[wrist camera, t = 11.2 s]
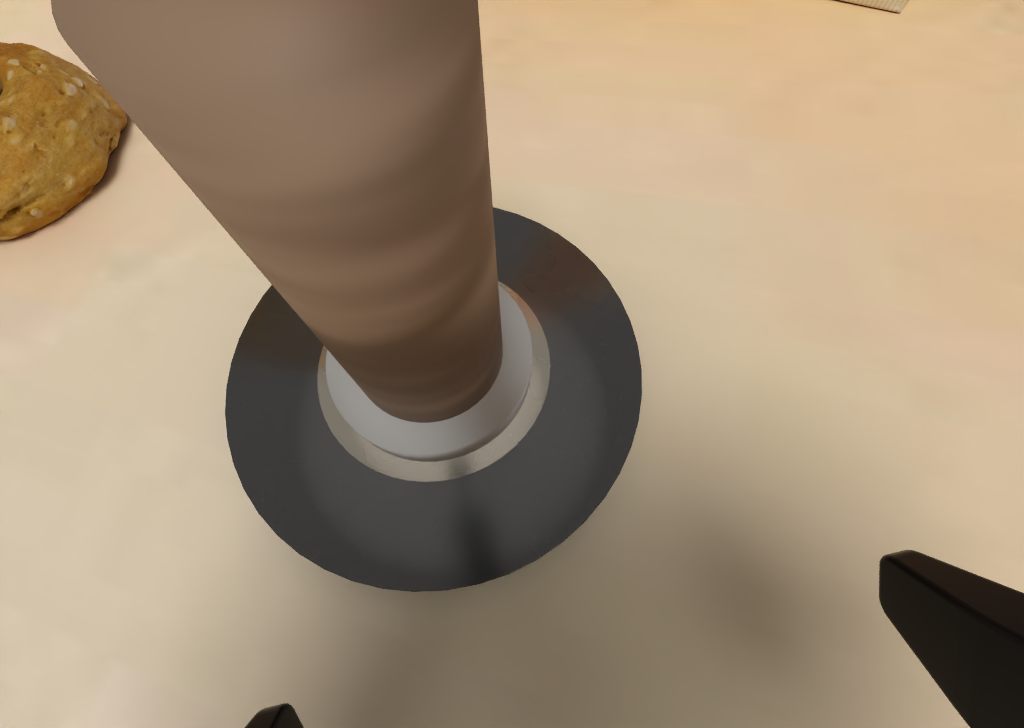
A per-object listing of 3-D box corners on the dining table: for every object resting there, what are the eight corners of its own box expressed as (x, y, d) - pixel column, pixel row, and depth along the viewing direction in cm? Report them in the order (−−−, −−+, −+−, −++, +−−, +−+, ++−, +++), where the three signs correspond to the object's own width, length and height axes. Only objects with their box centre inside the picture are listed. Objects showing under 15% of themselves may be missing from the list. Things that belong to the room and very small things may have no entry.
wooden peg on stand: (437, 506, 16) (196, 307, 4) (297, 375, 18) (-148, -25, 6) (570, 355, 18) (672, -74, 6) (433, 251, 20) (303, -234, 8)
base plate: (284, 667, 16) (264, 676, 14) (216, 284, 21) (197, 265, 20) (708, 490, 18) (722, 483, 16) (544, 181, 23) (545, 159, 22)
